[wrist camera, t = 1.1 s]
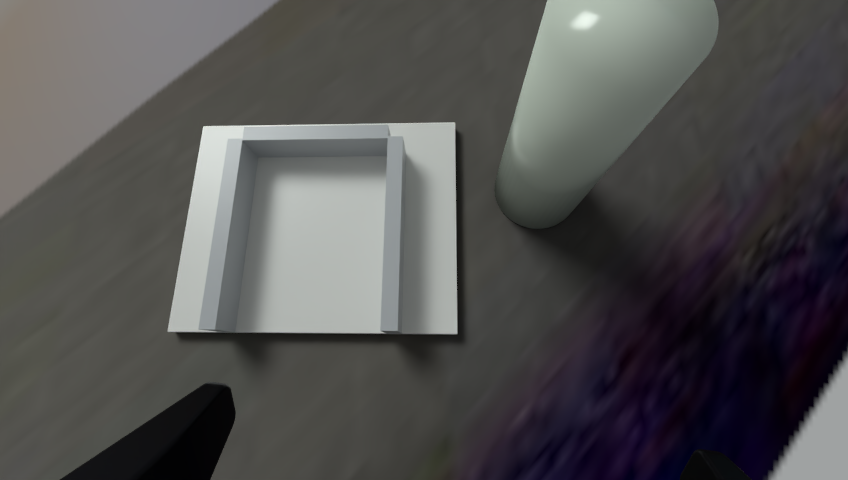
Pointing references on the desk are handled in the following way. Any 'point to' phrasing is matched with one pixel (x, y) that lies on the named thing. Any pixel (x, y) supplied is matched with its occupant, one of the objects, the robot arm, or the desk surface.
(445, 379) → the desk surface
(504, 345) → the desk surface
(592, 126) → the domed peg
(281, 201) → the white railed tray
